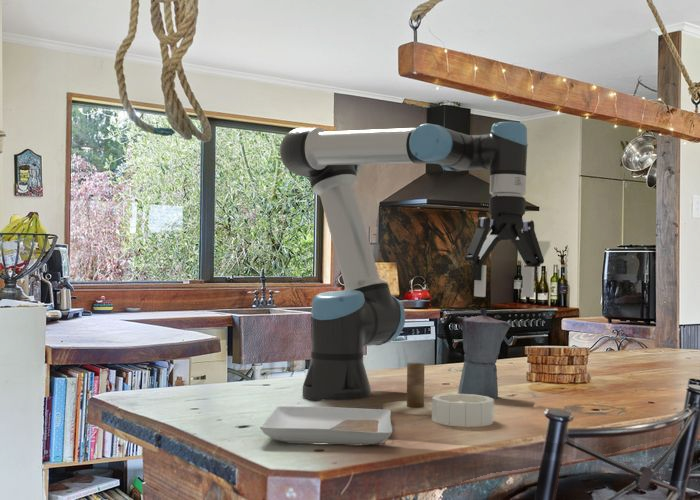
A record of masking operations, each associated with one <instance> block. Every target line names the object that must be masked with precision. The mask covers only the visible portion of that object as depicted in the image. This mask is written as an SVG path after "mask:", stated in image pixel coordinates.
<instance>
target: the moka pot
mask: <svg viewBox="0 0 700 500" xmlns="http://www.w3.org/2000/svg"><path fill="white" fill-rule="evenodd" d="M487 312H488V309H487V308H480V315H477V316H471V317H463V316H461V317H459V316H456V315H452V314H451V316H449V318H448V319H446V321H445V322H444V323H443V333H444V335H445V339H446V343H447V346H448V350H449V353H450V356H452V357H454V358H455V357H456V358H460V357H461V356H462V353H461V352H456V351H455V347H454V345H453V339H452V335H451V329H450V326H451V324H454V325H456V326H461V330H462V344H463V345H462V348H463V350H462V351H464V354H463V357H464V361H463V366H462V371H461V376H460V380H459V386H458V392H457V394H474V395H481V396H487V397H490V398H493V399H494V400H495V399H497V398H499V388H498V387H499V386H498V372H497V371H498V369H497V365H496V363H497V359H498V356H499V354H500V350H501V344H502V343H503V341H504V340H505V339H504V338H505V337H506V335H507V332H508V331H509V329H510V328H511V327H512V326H513V325H512V324H511V323H509V322H508V321H505V320H500V319H496V318H493V317H490V316H487Z"/></svg>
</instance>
